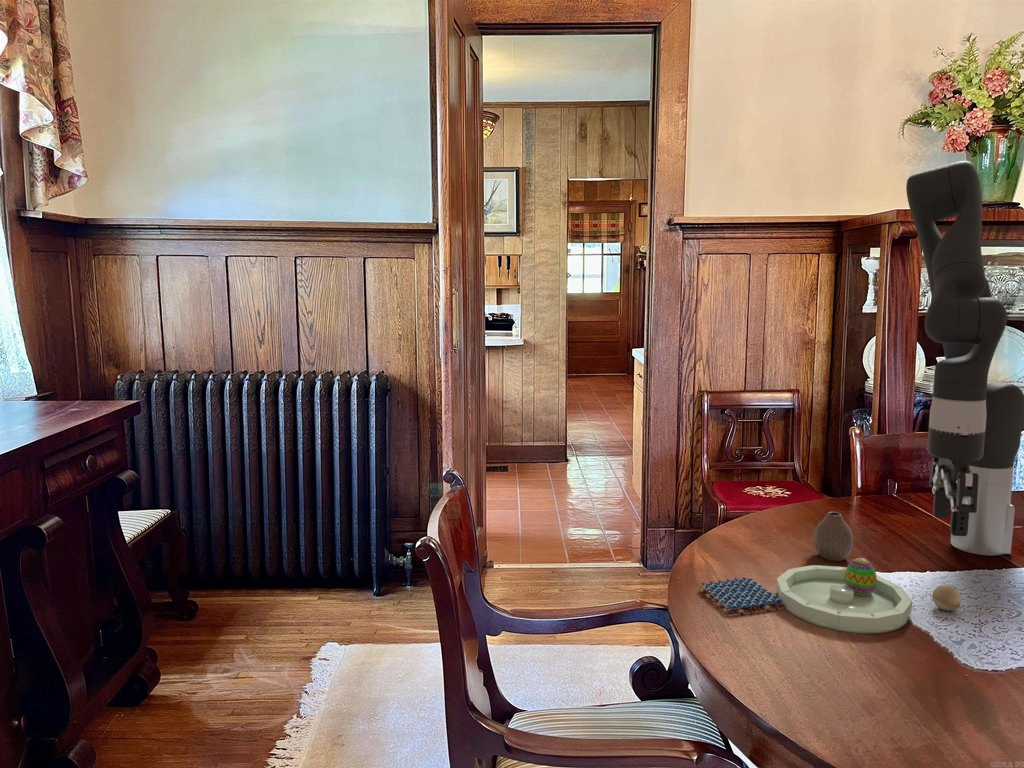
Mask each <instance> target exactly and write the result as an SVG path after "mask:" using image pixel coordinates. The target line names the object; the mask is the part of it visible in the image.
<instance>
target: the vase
mask: <svg viewBox="0 0 1024 768" xmlns="http://www.w3.org/2000/svg"><path fill="white" fill-rule="evenodd" d="M853 537H854V536H853V533H852V530H851V528H850V527H849V525H848V523H847V522H846V521H845V519H844V518H843V516H842V513H840V512H838V511H828V512H827V513H826V515H825V516H824V518H823V519H822V520H820V522H818V524H817V525H816V528H814V533H813V546H814V548H815V551H816V553H817V554H818V555H819V557H821V558H822V559H823V560H825V561H831V562H841V561H844V560H845V559H847V558H848V557H849V555H850V554H851V552H852V550H853V546H854V545H853V544H854V538H853Z"/></svg>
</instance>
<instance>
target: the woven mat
mask: <svg viewBox="0 0 1024 768" xmlns="http://www.w3.org/2000/svg"><path fill="white" fill-rule="evenodd" d="M725 580H726V581H724V580H723V581H722V580H720V579H719V580H717V582H716V581H715V582H714V581H712V580H711V581H709V583H705V581H704V582H701V585H702V586H701V587H700V588H699V591H700V592H701V593H702V594H704V593H705V594H704V595H705V597H707V599H711V601H712V604H713V605H716V606H717V607H718V608H721V610H723V612H724V614H728V616H729V617H734V615H735V616H740V615H742V616H743V615H749V614H757V613H762V612H764V613H765V612H771V611H776V610H777V611H778V610H783V609H785V608H784V607H783V605H782V601H781V599H779V598H778V596H777V595H776V594H775V595H774V593H773V592H771V590H770V591H769V590H768V589H766V588H765V587H763V586H762V584H760V583H758V582H757V581H755V580H754V579H753V578H749V577H745V576H744V577H742V579H738V577H735V578H734V580H732V579H725ZM780 602H781V603H780Z"/></svg>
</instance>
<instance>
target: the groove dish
mask: <svg viewBox="0 0 1024 768" xmlns="http://www.w3.org/2000/svg"><path fill="white" fill-rule="evenodd" d="M846 569H847V567H846V566H832V565H831V566H830V565H815V564H814V565H813V564H812V565H806V566H801V567H799V566H798V567H793V568H789V569H787V570H785V572H783V573H782V574H781V575H780V576H779V577H777V578H776V592H777V598H779V599H781V601H782V605H783V607H784V609H785V611H788V613H790V614H791V615H793V616H795V617H796V618H799V619H801V620H803V621H804V622H808V623H810V624H811V625H815V626H818V627H822V628H825V629H828V630H829V629H830V630H834V631H840V632H844V633H853V634H882V633H889V632H893V631H896V630H898V629H901V628H902V627H904V626H905V625H906V624H907V623H908V622H909V621H908V620H909V616H910V615H911V613H912V610H913V600H912V599H911V598H910V595H908V593H907V591H905V589H904V588H903V587H902V586H900V585H898V584H897V583H894V582H891V580H888V579H887V578H885V577H881V576H880V575H878V574H876V576H877V584H876V588H875V590H874V591H873V593H872V594H870V595H868V596H858V595H855V594H854V590H853V589H852V588H850V587H847V586H846V584H845V579H844V577H845V571H846ZM780 603H781V602H780Z"/></svg>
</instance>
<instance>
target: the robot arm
mask: <svg viewBox="0 0 1024 768" xmlns="http://www.w3.org/2000/svg"><path fill="white" fill-rule="evenodd" d="M981 185H982V184H981V179H980V175H979V173H978V170H977V168H976V167H975V164H974V163H972V162H971V161H969V160H961V161H955V162H952V163H949V164H944V165H942V166H939V167H934V168H931V169H928V170H924V171H920V172H917V173H915V174H912V175H910V176H909V177H908V179H907V180H906V189H905V190H906V198H907V202H908V207H909V209H910V214H911V217H912V220H913V224H914V228H915V232H916V234H917V237H918V241H919V244H920V248H921V251H922V255H923V258H924V262H925V263H924V264H925V267H926V271H927V272H926V274H927V278H928V283H929V290H930V294H931V301H930V303H929V306H928V308H927V311H926V314H925V318H924V331H925V334H926V335H927V336H928V337H929V339H931V341H934V342H935V343H938V344H942V348H943V353H944V359H942V360H940V361H938V362H937V363H936V364H935V368H934V374H933V390H932V399H931V404H930V410H929V420H928V434H927V446H926V447H927V448H926V449H927V450H926V451H927V452H928V454H930V455H931V462H930V473H929V482H928V485H929V487H931V488H932V489H931V491H932V494H933V503H932V504H933V505H932V506H933V507H932V515H933V517H935V518H939V519H940V518H941V519H943V518H944V519H947V518H949V517H950V525H949V526H950V527H949V533H950V544H951V546H953V547H954V548H956V549H958V550H960V551H963V552H965V553H966V552H967V553H970V554H974V555H981V556H990V557H991V556H1001V555H1006V554H1007V555H1010V554H1012V545H1013V544H1012V543H1013V533H1014V521H1015V511H1016V510H1015V505H1014V504H1012V503H1011V499H1012V487H1013V486H1012V485H1013V477H1014V476H1013V474H1014V465H1015V459H1016V456H1017V454H1018V451H1019V449H1020V444H1021V439H1022V432H1023V425H1024V393H1023V390H1022V389H1021V388H1020V387H1019V386H1018V385H1016V384H1014V383H1008V382H1003V381H995V380H989V371H990V368H991V364H992V361H993V358H994V355H995V352H996V349H997V347H998V345H999V342H1000V340H1001V338H1002V336H1003V334H1004V331H1005V330H1006V329H1005V328H1006V326H1007V322H1008V312H1007V309H1006V307H1005V306H1004V303H1003V302H1001V300H999V299H998V298H995V297H992V292H991V286H990V282H989V280H988V279H987V277H986V274H985V273H986V272H985V268H984V267H985V265H984V260H983V255H982V233H983V231H982V228H983V192H982V191H983V190H982V186H981ZM955 217H956V218H955ZM950 218H951V219H952V218H955V220H954V221H953V223H952V224H951V226H950V227H949V228H948V229H947V231H946V232H945V234H944V235H942V233H941V232H940V230H939V228H938V227H937V225H936V222H938V221H942V220H946V219H950ZM950 510H951V512H950ZM950 514H951V515H950Z"/></svg>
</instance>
